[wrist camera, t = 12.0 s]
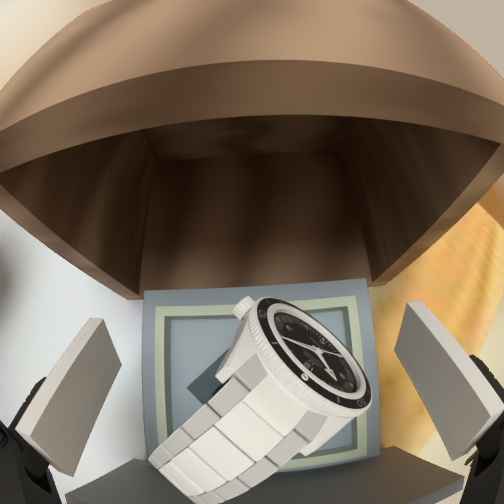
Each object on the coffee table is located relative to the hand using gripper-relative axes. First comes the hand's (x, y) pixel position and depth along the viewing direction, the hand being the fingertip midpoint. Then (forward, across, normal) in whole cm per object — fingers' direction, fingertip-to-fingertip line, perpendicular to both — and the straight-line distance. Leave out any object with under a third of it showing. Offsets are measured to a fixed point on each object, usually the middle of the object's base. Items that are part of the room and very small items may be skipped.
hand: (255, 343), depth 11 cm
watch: (+2, 0, -6) cm, 7 cm away
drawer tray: (+3, 0, -6) cm, 7 cm away
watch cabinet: (+14, 0, +2) cm, 14 cm away
